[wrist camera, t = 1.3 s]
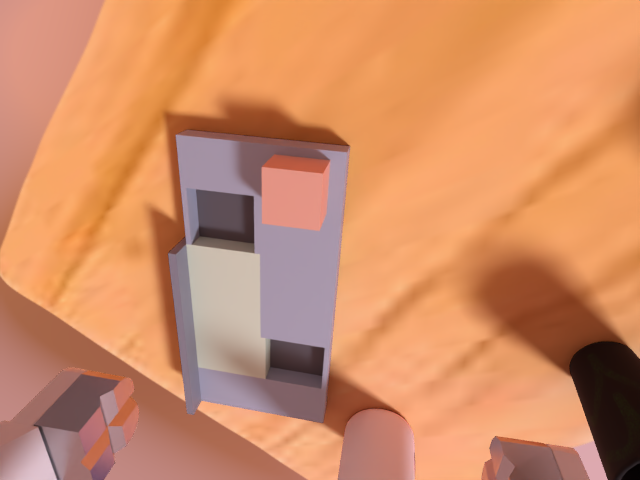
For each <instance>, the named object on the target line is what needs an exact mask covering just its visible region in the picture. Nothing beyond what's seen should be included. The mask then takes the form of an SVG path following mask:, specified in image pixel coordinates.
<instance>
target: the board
mask: <svg viewBox="0 0 640 480" xmlns="http://www.w3.org/2000/svg"><path fill="white" fill-rule="evenodd" d="M176 143H177V154H178V164H179V175H180V185H181V195H182V206H183V216H184V226H185V237H184V238H183V239H182V240H181V241H180V242H179V243H178V244H177V245H176V246H175V247H174V248H173V249H172V250H171V251H170V252H169V253H168V258H169V266H170V275H171V283H172V291H173V300H174V308H175V316H176V325H177V333H178V341H179V350H180V358H181V366H182V375H183V383H184V391H185V400H186V408H187V413H188V414H192V415H194V413H195V411H196V410H197V408H198V406H199V404H200V402H201V401H206V402H212V403H217V404H223V405H228V406H233V407H239V408H244V409H250V410H255V411H260V412H266V413H271V414H277V415H282V416H287V417H293V418H298V419H304V420H309V421H314V422H320V423H323V422H324V417H325V412H326V404H327V393H328V382H329V371H330V360H331V349H332V338H333V327H334V316H335V305H336V294H337V283H338V272H339V261H340V250H341V239H342V228H343V217H344V207H345V196H346V185H347V174H348V163H349V152H350V146H344V145H334V144H324V143H315V142H305V141H295V140H285V139H275V138H265V137H255V136H245V135H235V134H225V133H215V132H206V131H196V130H185V131H183V132H180V133H178V134H176ZM274 154H276V155H286V156H295V157H305V158H314V159H324V160H330V174H329V188H328V202H327V214H326V216H325V219H324V221H323V224H322V226H321V228H320V231H316V230H308V229H300V228H292V227H284V226H277V225H269V224H262V166H263V165H264V164H265V163H266V162H267V161H268V160H269V159H270V158H271V157H272V156H273V155H274Z"/></svg>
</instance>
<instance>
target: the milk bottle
mask: <svg viewBox="0 0 640 480" xmlns="http://www.w3.org/2000/svg"><path fill="white" fill-rule="evenodd" d="M338 480H416V478H415V447H414V435H413V431H412V429H411V427H410V426H409V424H408V422H407V421H406V420H405V419H404V418H402V417H401V416H400V415H398V414H396V413H394V412H391V411H388V410H384V409H366V410H362V411H360V412H358V413H356V414H355V415H353V416H352V417H351V419H350V420H349V421H348V423H347V425H346V428H345V433H344V439H343V446H342V453H341V460H340V468H339V475H338Z"/></svg>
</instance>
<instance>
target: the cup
mask: <svg viewBox="0 0 640 480" xmlns="http://www.w3.org/2000/svg"><path fill="white" fill-rule="evenodd" d="M570 373H571V375H572V378H573V381H574V384H575V387H576V390H577V393H578V396H579V398H580V401H581V404H582V407H583V410H584V413H585V416H586V419H587V421H588V424H589V427H590V430H591V433H592V436H593V439H594V441H595V444H596V447H597V450H598V453H599V456H600V459H601V462H602V464H603V467H604V470H605V473H606V476H607V479H608V480H640V359H639V358H638V357H637V356H636V354H635V353H634V352H633V351H632V350H631V349H630V348H628V347H627V346H625V345H622V344H620V343H616V342H598V343H593V344H590V345H588V346H585V347H584V348H582V349H580V350H579V351H578V352H577V353H576V354H575V355H574V356H573V358H572V359H571V362H570Z"/></svg>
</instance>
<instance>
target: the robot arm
mask: <svg viewBox="0 0 640 480" xmlns="http://www.w3.org/2000/svg"><path fill="white" fill-rule="evenodd" d="M134 390H135V389H134V385H133V381H132V379H130V378H127V377H121V376H116V375H111V374H105V373H100V372H95V371H89V370H83V369H77V368H72V367H69V368H67V369H64V370H62V371H61V372H60V373H59V374H58V375H57V376H56V377H55V378H54V379H53V380H52V381H51V382H50V383H49V384H48V385H47V386H46V387H45V388H44V389H43V390H42V391H41V392H39V394H37V396H35V398H33V400H31V402H29V403H28V404H27V405H26V406H25V407H24V408H23V409H22V410H21V411H20V412H19V413H18V414H17V415H16V416H15V417H14V418H13V419H12V420H11V421H2V422H0V480H104V479H105V477H106V476H107V474H108V473H109V472H110V470H111V468H112V467H113V465H114V464H115V456H114V453H116V452H117V451H119V450H121V449H122V448H124V447H126V446H127V444H128V443H129V441H130V440H131V438H132V437H133V435H134V432H135V430H136V427H137V424H138V420H139V408H138V404H137V403H136V402H135V401H134V399H133V398H132V397H131V394H132V393H133V391H134ZM490 453H491V458H492V459H490V460H488V461H487V462H485V464H484V468H483V472H482V480H590V479H589V477H588V475H587V472H586V470H585V468H584V466H583V464H582V461H581V459H580V457H579V454H578V453H577V452H576V451H575V450H574V448H569V447H563V446H556V445H550V444H544V443H539V442H532V441H525V440H518V439H512V438H505V437H498V436H495V437H494V438H493V440H492V442H491V445H490Z"/></svg>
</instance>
